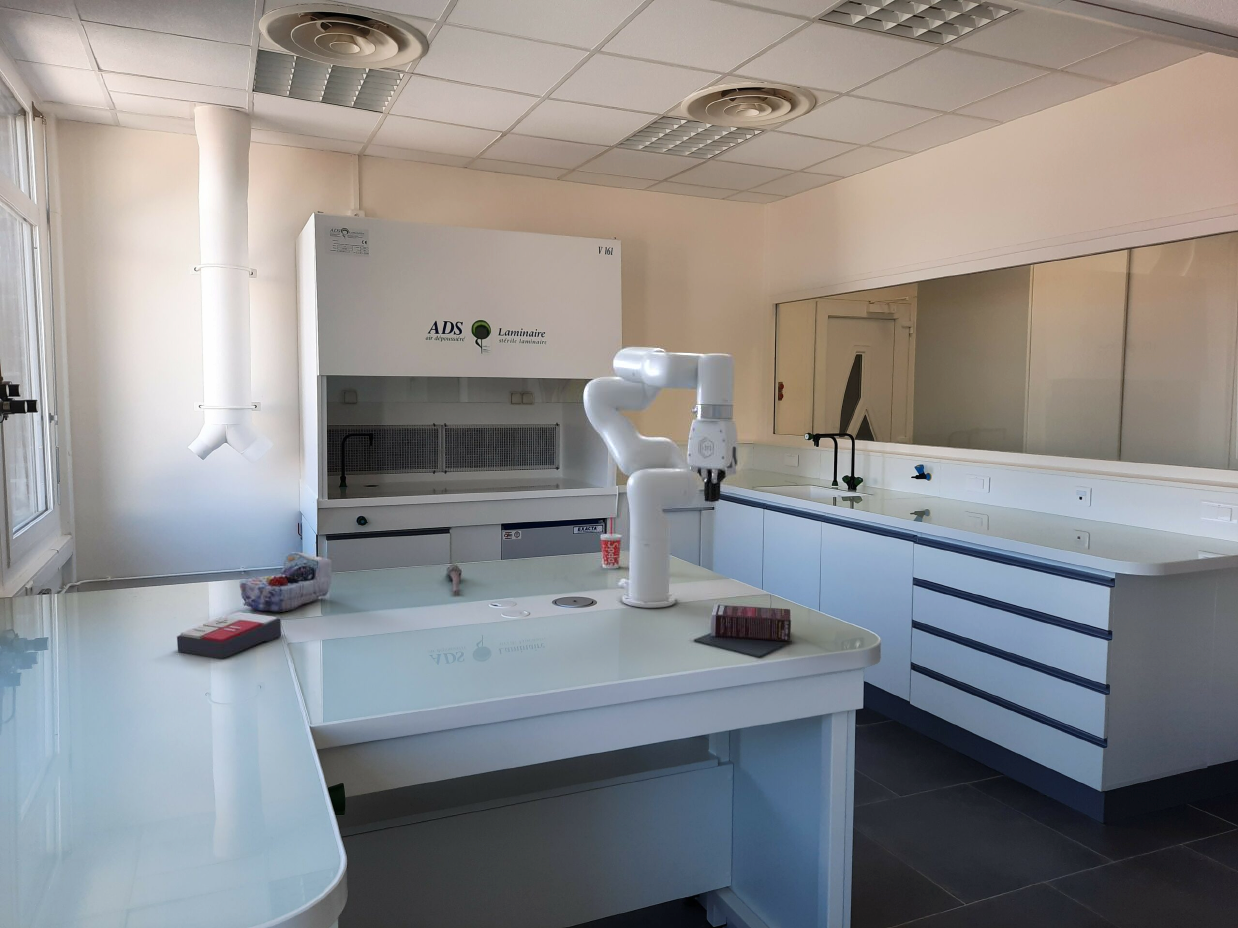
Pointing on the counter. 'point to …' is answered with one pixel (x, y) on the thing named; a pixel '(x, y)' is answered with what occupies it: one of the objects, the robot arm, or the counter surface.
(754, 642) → the mat
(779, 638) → the supplement box
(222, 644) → the calculator
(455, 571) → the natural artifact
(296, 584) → the toy bassinet
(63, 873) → the counter surface
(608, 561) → the beverage cup
